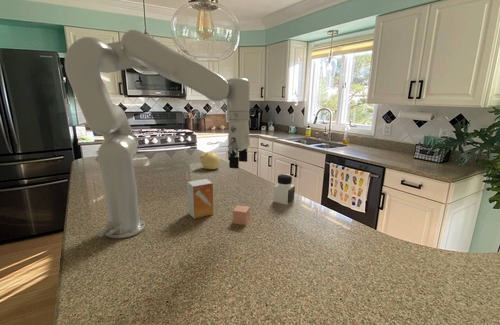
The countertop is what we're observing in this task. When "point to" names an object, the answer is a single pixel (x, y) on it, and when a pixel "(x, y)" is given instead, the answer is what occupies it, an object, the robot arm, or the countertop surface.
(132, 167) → the robot arm
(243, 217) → the terracotta block
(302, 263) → the countertop surface
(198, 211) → the small box
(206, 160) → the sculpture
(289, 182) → the medicine bottle
